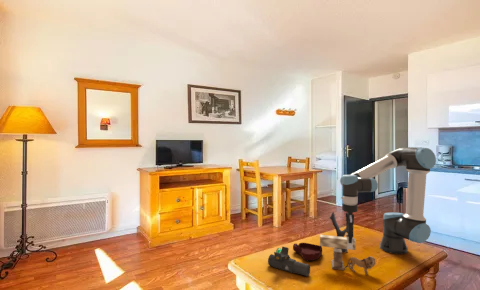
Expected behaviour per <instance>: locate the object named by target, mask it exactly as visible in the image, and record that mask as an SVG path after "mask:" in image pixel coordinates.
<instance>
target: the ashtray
mask: <svg viewBox="0 0 480 290" xmlns="http://www.w3.org/2000/svg"><path fill="white" fill-rule="evenodd" d="M292 250H293V251H294V252H295V253H296V254H299V255H300V256H301V257H302V258H303V260H305V261H306V262H311V261H316V260H318V259H320V257H321V256H322V255H323V246H320V244H319V245H317V244H313V243H308V242H300V243H299V244H298V243H297V242H296V243H293V245H292Z"/></svg>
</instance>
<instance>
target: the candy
mask: <svg viewBox="0 0 480 290" xmlns="http://www.w3.org/2000/svg"><path fill="white" fill-rule="evenodd" d="M281 250H282V247H278V248H276V250H275V252H277V253H280V252H281ZM289 258H291V257H290V256H289Z"/></svg>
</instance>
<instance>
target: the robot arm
mask: <svg viewBox="0 0 480 290" xmlns="http://www.w3.org/2000/svg"><path fill="white" fill-rule="evenodd" d="M436 162H437V157H436V155H435V153H434V151H433V150H432V149H430V148H427V147H423V146H421V147H418V146H415V147H411V146H409V147H407V146H403V147H400V148H397V149H394V150H392V151H390V152H387V153H386V154H385V155H384V156H383V157H382V158H379V159H378V160H376V161H375V162H372V163H370V164H368V165H367V166H364V167H362V168H361V169H358V170H357V171H354V172H352V173H350V174H343V175H342V176H341V177H340V180H339V182H340V185H341V186H342V197H341V198H340V199H341V200H342V211H343V212H346V213H345V223H346V225H345V227H346V228H345V229H346V233H345V237H347V250H350V249H353V238H354V221H355V215H354V213H357V212H358V203H359V202H358V200H359V199H358V197H359V193H373V192H376V191H377V189H378V187H379V186H378V185H379V183H378V181H377V179H376V178H375V177H377V176H378V175H381V174H382V173H385V172H387V171H388V170H390V169H396V168H397V167H405V170H406V171H407V172H408V177H407V178H408V179H407V192H406V204H405V213H403V212H384V213H383V217H382V237H381V240H380V243H379V248H380V249H381V250H382V251H384V252H385V253H389V254H392V255H394V254H395V255H405V254H408V246H407V242H406V240H408V241H411V242H413V243H414V242H415V243H416V244H422V243H425V242H427V240H428V239H429V238H430V236H431V231H432V230H431V227H430V225H429V224H428V223H427V218H426V217H425V216H424V212H425V211H424V210H425V196H426V184H427V174H429V173H430V172H431V169H433V168H434V167H435V165H436Z"/></svg>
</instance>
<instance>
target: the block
mask: <svg viewBox="0 0 480 290" xmlns="http://www.w3.org/2000/svg"><path fill="white" fill-rule="evenodd" d="M356 245H357V241H356V238H354V237H353V249H349V250H351V251H356V247H357V246H356ZM319 246H322V247H326V248H333V249H334V248H341V249H347V237H346V236H344V237H339V236H337V235H326V234H319ZM347 250H348V249H347Z"/></svg>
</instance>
